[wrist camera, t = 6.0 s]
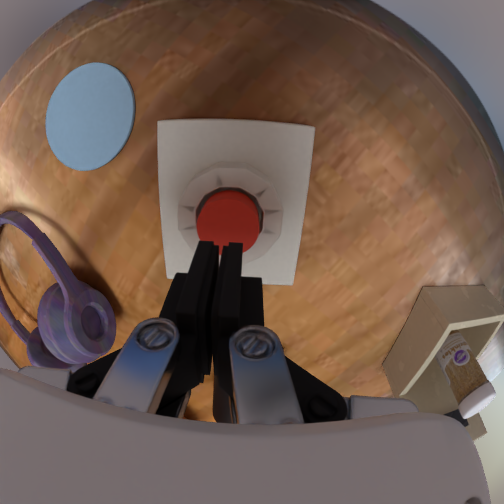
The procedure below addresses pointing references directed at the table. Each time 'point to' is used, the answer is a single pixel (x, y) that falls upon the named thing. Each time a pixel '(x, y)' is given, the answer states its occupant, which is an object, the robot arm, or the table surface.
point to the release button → (229, 220)
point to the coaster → (90, 116)
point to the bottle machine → (431, 339)
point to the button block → (235, 187)
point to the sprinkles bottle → (464, 375)
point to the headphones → (62, 311)
